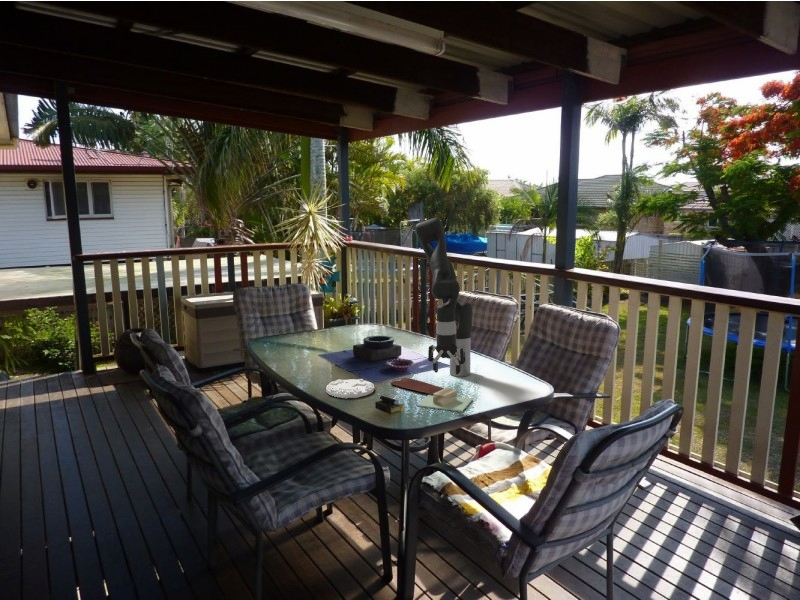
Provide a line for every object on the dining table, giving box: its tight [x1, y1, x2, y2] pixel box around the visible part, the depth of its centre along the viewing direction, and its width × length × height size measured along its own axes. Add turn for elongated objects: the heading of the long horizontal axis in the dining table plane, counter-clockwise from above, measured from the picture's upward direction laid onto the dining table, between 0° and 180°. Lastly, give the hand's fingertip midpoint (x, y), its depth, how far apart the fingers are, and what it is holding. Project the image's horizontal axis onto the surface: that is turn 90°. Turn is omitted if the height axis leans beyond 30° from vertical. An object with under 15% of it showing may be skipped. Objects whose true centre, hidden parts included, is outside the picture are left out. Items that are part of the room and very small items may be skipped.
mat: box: [416, 393, 474, 413], centre depth 226 cm, size 14×18×1 cm
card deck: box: [433, 387, 458, 406], centre depth 225 cm, size 5×9×4 cm, turn 142°
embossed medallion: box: [325, 378, 375, 400], centre depth 243 cm, size 20×20×3 cm
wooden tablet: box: [389, 377, 445, 395], centre depth 243 cm, size 27×10×2 cm, turn 45°
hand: (446, 372), depth 224 cm, fingers open, 8 cm apart
